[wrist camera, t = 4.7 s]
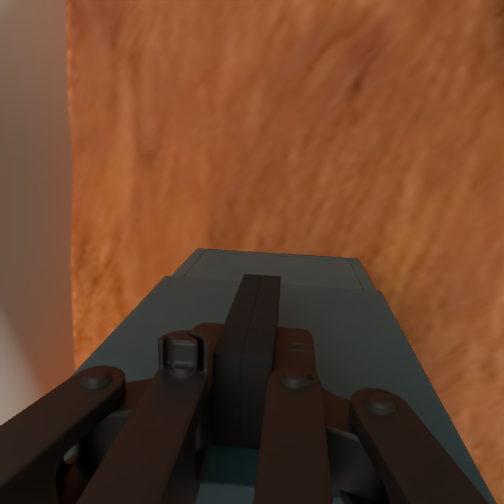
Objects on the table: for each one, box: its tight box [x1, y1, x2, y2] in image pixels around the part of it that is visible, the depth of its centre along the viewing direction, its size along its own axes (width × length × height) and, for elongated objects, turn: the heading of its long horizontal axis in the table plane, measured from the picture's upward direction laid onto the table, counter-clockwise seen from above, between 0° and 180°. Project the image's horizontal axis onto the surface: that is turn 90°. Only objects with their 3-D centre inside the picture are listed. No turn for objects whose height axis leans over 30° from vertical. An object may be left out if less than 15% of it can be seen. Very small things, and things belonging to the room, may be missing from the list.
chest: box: [172, 249, 376, 291], centre depth 30 cm, size 14×13×8 cm
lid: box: [64, 276, 497, 504], centre depth 17 cm, size 14×13×1 cm
